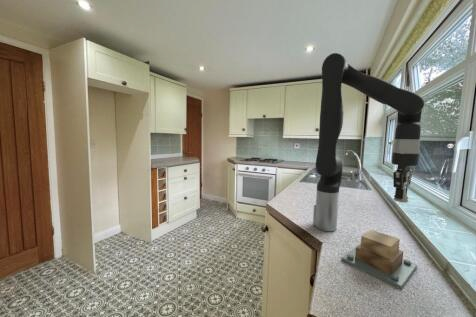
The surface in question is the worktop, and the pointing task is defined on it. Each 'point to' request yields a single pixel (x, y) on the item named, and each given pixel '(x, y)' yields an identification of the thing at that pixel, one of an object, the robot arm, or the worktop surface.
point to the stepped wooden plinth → (380, 251)
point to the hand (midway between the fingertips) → (400, 197)
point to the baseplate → (394, 279)
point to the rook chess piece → (403, 195)
